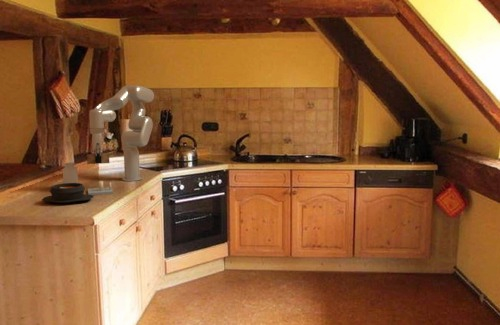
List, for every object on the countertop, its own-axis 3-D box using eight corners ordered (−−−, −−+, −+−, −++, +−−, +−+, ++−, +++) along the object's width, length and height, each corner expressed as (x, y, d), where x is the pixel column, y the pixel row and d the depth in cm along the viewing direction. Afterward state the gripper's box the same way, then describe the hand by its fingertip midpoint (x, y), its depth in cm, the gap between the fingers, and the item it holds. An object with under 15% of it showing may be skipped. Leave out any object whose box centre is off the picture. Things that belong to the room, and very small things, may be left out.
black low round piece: (98, 197, 233) (97, 181, 232) (87, 205, 215) (86, 188, 214) (50, 197, 232) (49, 182, 230) (35, 206, 213) (34, 189, 212)
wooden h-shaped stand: (87, 164, 247) (86, 155, 246) (87, 162, 253) (86, 154, 252) (109, 163, 251) (109, 154, 251) (108, 161, 257) (108, 153, 256)
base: (87, 190, 249) (87, 180, 248) (111, 189, 253) (111, 178, 252) (88, 195, 237) (87, 184, 236) (113, 193, 241) (112, 182, 240)
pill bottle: (74, 186, 262) (73, 161, 260) (80, 188, 257) (79, 162, 255) (61, 188, 257) (59, 162, 255) (67, 190, 251) (65, 164, 249)
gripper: (90, 130, 256) (91, 160, 259) (90, 132, 240) (91, 164, 243) (103, 130, 259) (104, 160, 261) (104, 131, 243) (105, 163, 245)
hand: (98, 161), depth 252 cm, fingers closed on wooden h-shaped stand, 6 cm apart
